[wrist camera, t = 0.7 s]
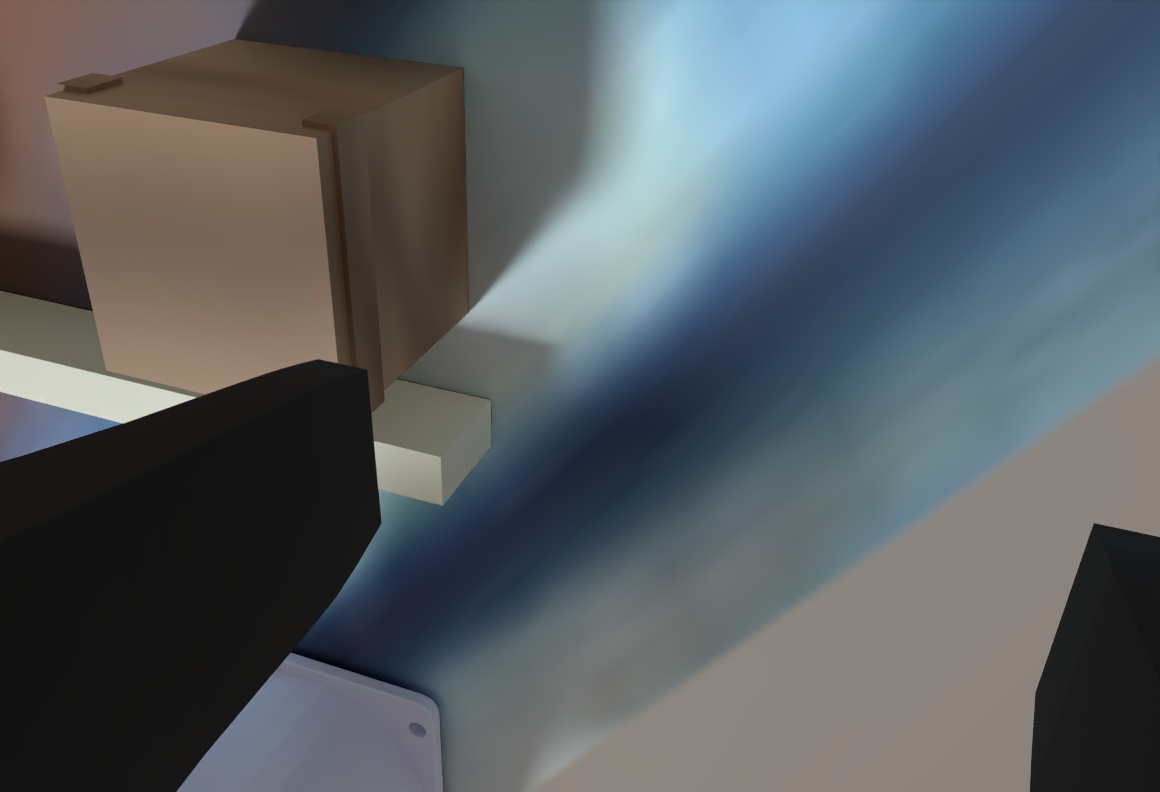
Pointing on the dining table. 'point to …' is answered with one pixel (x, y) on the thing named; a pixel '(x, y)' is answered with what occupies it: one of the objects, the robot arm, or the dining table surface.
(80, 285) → the dining table surface
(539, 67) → the dining table surface
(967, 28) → the dining table surface
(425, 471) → the cream u-shaped frame
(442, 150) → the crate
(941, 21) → the dining table surface
